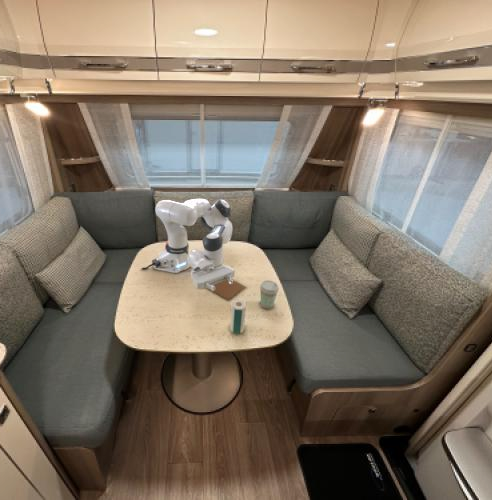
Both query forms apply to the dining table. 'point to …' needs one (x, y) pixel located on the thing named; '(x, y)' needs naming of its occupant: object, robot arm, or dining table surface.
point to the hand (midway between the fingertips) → (223, 285)
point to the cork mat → (227, 289)
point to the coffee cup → (268, 293)
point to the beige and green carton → (237, 316)
